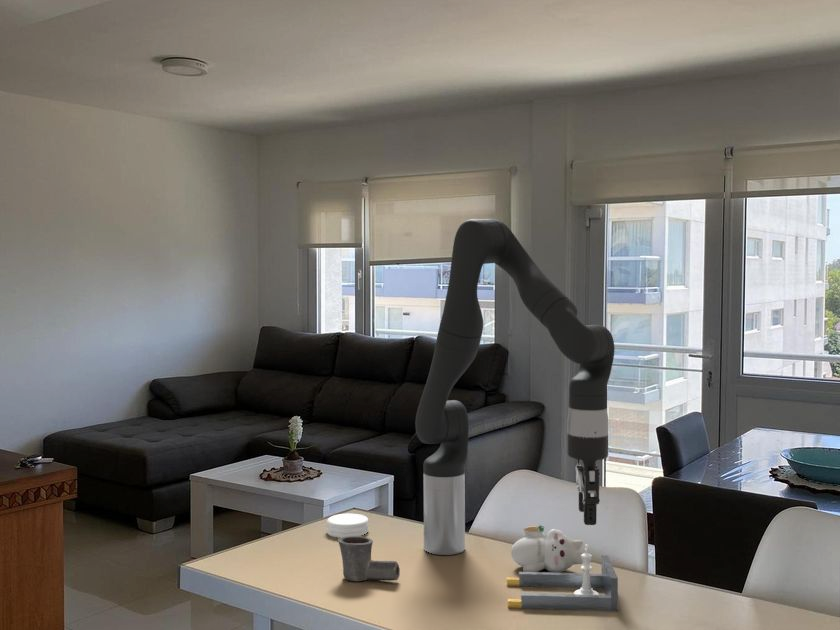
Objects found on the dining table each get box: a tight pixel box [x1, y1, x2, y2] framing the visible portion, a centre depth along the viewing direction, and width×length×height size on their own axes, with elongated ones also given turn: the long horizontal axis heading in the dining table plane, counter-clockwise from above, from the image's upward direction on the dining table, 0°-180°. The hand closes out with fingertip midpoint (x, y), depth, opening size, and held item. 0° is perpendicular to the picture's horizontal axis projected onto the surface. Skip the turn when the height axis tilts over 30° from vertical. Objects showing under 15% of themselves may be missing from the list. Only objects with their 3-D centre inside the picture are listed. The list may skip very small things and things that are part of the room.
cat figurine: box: [510, 524, 584, 573], centre depth 163 cm, size 10×8×15 cm
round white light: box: [326, 513, 370, 539], centre depth 190 cm, size 10×10×4 cm
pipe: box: [337, 536, 401, 582], centre depth 158 cm, size 6×13×8 cm, turn 75°
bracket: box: [506, 555, 619, 612], centre depth 148 cm, size 12×20×6 cm, turn 85°
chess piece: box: [573, 544, 600, 595], centre depth 148 cm, size 5×5×10 cm
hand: (587, 517), depth 148 cm, fingers open, 8 cm apart
